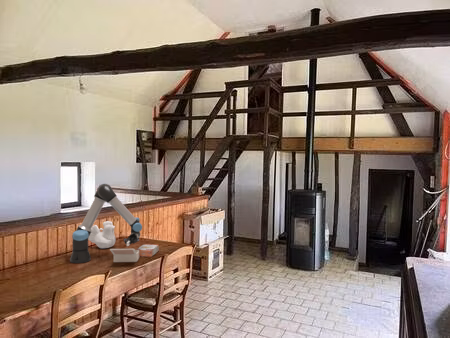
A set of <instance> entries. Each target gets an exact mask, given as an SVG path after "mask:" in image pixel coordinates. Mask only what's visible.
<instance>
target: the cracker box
mask: <svg viewBox="0 0 450 338" xmlns="http://www.w3.org/2000/svg"><path fill="white" fill-rule="evenodd" d="M135 250H139V257H148V258H151V257H153V256H154V255H156V254H157V253H158V252H159V251H160V244H153V243H152V244H149V243H147V244H146V243H144V244H142V245H141V246H139V247H138V248H136V249H135Z"/></svg>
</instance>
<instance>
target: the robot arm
mask: <svg viewBox="0 0 450 338" xmlns="http://www.w3.org/2000/svg"><path fill="white" fill-rule="evenodd" d="M93 198H94V200H93V201H92V203H91V206H90V207H89V209H88V211H87V213H86V215H85V217H84V218H83V221H82V223H81V224H80V225H78V226H77V228H76V230H75V231H74V232H72V238H71V239H72V252H71V255H70V258H69V262H70V264H71V263H72V264H83V263H88V262H90V261H91V258H92V257H91V254H90V251H89V239H88V238H89V236H90V234H91V232H92V230H91V228H92V226H94V225H95V222H96V220H97V218H98V216H99V215H100V212H101V211H102V209H103V206H104V205H105V203H107V204H110V205H111V207H112V208H113V209H114V210H115V211H116V212H117V213H118V215H120V217H121V218H123V220H124V221H125V222H126V223H127V224H128V225H129V226H130V234H129V236H127V238H125V237H124V238H123V242H124V244H125V245H126V247H129V246H130V245H134V244H136V243H138V242H140V237H141V231H142V229H143V225H142V223H141V222H140V221H141V220H140V218H139V217H135V215H134V214H132V212H131V211H130V210H129V209H128V208H127V207H126V206H125V205H124V203H123V202H122V201H121V200H120V199H119V198H118V195H117V194H116V192H115V191H114V189H113V188H112V186H111V185H110V184H108V183H102V184H99V186H98V187H97V189H96V192H95V194H94V196H93Z"/></svg>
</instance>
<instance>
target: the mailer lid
mask: <svg viewBox="0 0 450 338" xmlns="http://www.w3.org/2000/svg"><path fill="white" fill-rule="evenodd" d="M135 250H136V249H135V248H110V249H109V251H110V252H111V253H112V255H113V256H114V255H133V254H137V253H136V251H135Z"/></svg>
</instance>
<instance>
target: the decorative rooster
mask: <svg viewBox="0 0 450 338" xmlns="http://www.w3.org/2000/svg"><path fill="white" fill-rule="evenodd" d="M102 225H103V227H100V228H99V227H98V225H97V224H93V226H92V228H91V230H92V232H91V234H90V236H89V238H88V242H89V241H90V242H91V243H92V244H93V243H94V244H95V245H96V246H97V247H98V248H99V249H108V248H111V247H113V246H114V245H115V244H116V240H117V239H116V236H115V228H116V226H115V225H113V222H112V221H110V220H106V221H103V223H102Z"/></svg>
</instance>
